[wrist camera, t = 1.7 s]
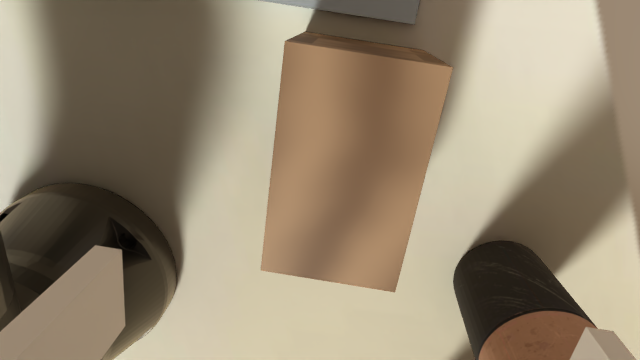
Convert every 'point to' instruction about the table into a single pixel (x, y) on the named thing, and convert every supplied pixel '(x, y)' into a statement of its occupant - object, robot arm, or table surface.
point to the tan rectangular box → (350, 157)
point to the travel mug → (516, 305)
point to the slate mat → (363, 8)
